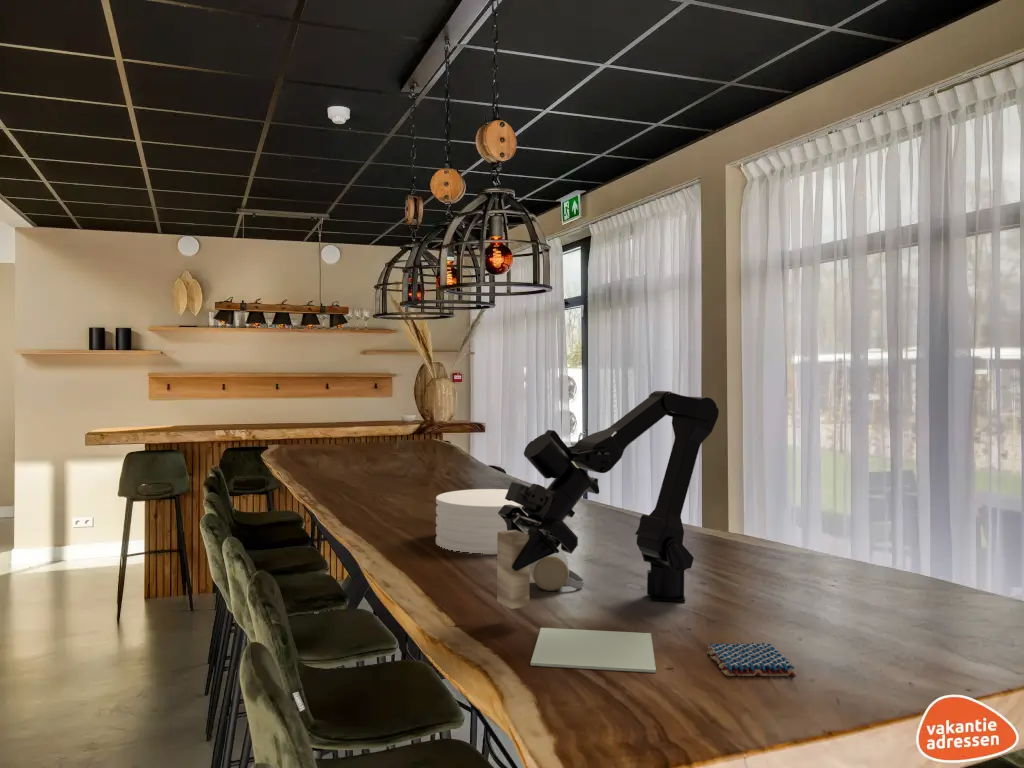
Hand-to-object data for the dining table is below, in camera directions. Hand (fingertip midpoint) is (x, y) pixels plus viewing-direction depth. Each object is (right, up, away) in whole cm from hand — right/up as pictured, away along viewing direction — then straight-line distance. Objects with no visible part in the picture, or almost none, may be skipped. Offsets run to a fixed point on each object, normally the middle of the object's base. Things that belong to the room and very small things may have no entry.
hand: (506, 565), depth 133 cm
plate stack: (-4, -9, +66) cm, 67 cm away
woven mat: (+36, -11, -17) cm, 41 cm away
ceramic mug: (+10, -10, +24) cm, 28 cm away
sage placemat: (+14, -10, -12) cm, 21 cm away
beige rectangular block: (+1, -7, +1) cm, 7 cm away
